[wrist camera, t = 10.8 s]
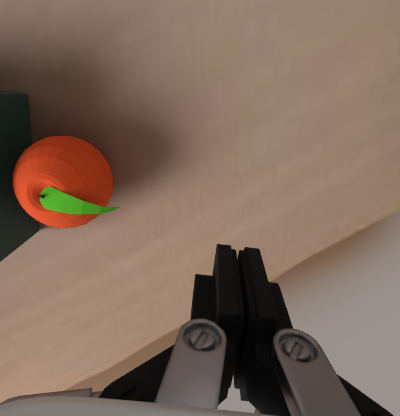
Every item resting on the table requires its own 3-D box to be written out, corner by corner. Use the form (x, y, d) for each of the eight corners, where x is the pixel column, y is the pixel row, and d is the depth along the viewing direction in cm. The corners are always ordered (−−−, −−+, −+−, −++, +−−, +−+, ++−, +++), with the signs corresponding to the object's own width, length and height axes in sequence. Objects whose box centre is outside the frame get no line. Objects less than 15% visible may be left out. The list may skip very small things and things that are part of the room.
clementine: (145, 151, 26) (122, 172, 19) (123, 222, 28) (97, 263, 21) (51, 117, 25) (-7, 126, 18) (37, 193, 27) (-19, 226, 21)
